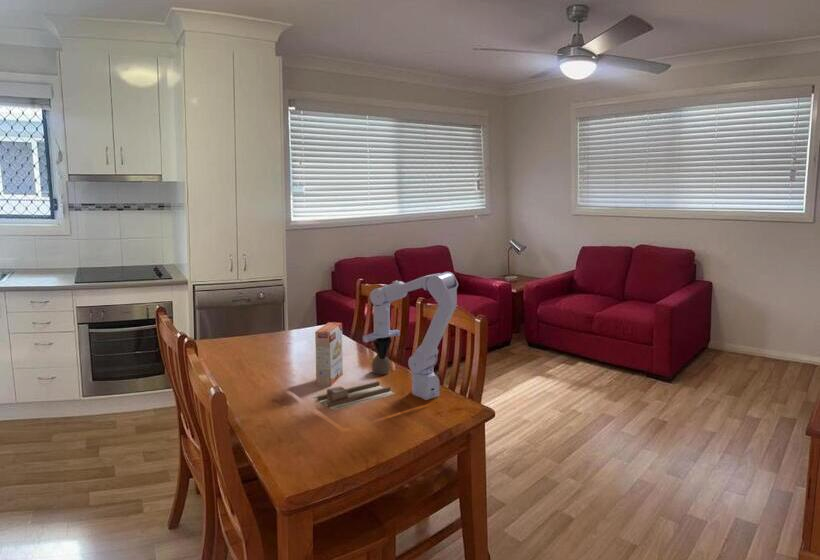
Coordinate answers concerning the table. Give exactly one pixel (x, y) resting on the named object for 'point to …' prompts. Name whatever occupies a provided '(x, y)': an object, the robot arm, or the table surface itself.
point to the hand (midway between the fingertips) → (382, 358)
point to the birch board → (357, 395)
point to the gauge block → (336, 393)
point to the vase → (380, 365)
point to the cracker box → (328, 354)
